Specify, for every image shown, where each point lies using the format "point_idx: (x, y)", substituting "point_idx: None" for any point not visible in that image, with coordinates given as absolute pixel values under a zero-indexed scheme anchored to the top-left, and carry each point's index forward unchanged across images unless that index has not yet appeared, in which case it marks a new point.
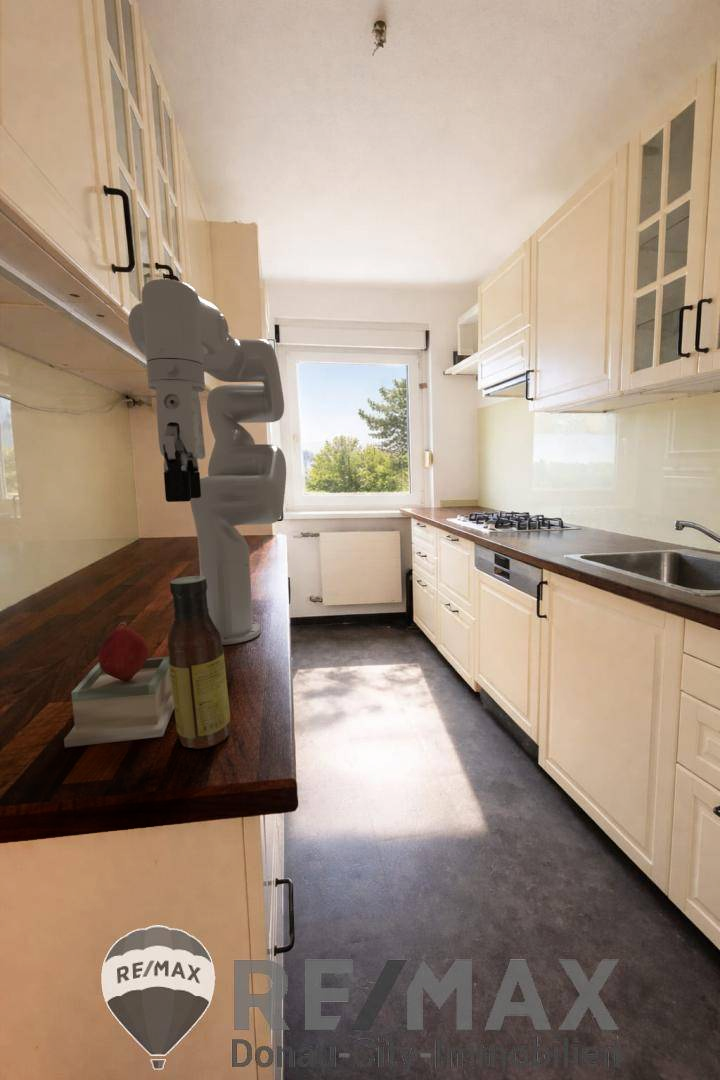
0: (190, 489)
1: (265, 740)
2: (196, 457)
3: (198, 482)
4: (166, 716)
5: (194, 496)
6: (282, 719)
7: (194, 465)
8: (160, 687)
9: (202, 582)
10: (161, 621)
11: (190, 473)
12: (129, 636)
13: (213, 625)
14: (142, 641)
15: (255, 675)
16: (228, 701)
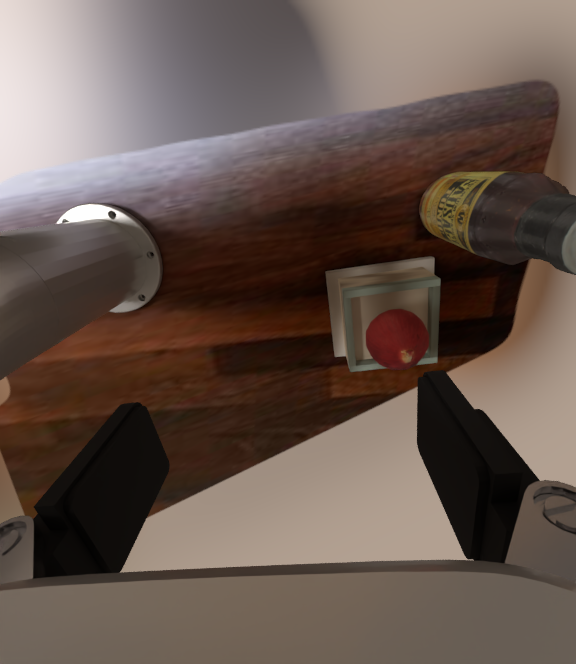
0: (444, 398)
1: (472, 121)
2: (463, 560)
3: (106, 455)
4: (405, 262)
5: (149, 423)
6: (424, 104)
7: (42, 571)
8: (405, 278)
9: None
10: (68, 380)
11: (90, 533)
12: (417, 338)
13: (550, 182)
14: (402, 321)
15: (276, 176)
16: (465, 172)
